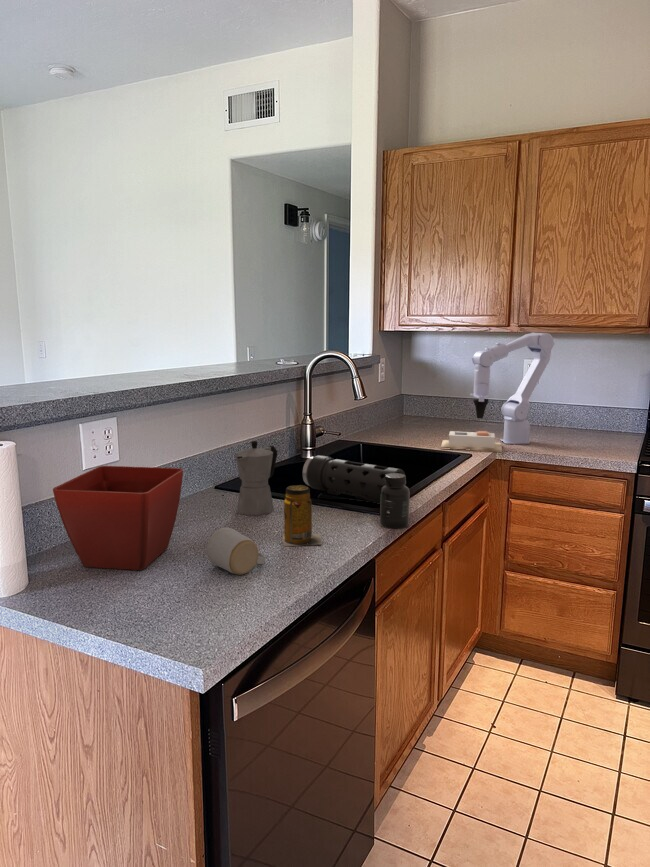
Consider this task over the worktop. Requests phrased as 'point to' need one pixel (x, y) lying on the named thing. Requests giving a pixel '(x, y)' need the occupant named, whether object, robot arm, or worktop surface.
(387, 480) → the supplement bottle
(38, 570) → the worktop surface
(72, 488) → the plant pot
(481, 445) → the plunger panel
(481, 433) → the terracotta plunger
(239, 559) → the ceramic mug
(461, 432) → the grey cube
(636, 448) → the worktop surface
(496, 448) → the birch board
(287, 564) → the worktop surface
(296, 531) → the condiment
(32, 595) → the worktop surface
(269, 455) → the coffeepot
